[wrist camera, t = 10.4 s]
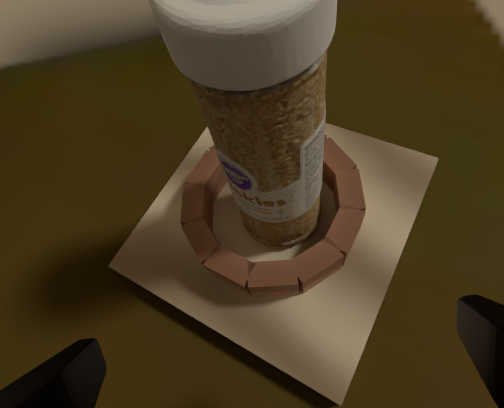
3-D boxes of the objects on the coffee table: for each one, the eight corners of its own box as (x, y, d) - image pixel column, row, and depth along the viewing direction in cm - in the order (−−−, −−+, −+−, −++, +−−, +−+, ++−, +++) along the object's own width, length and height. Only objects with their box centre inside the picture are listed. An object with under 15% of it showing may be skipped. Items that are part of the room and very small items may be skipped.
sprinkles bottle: (228, 232, 20) (103, 5, 8) (263, 168, 21) (201, -101, 9) (304, 263, 18) (289, 41, 6) (335, 192, 20) (369, -92, 8)
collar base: (339, 404, 16) (344, 408, 13) (116, 271, 21) (87, 254, 18) (433, 167, 21) (451, 136, 18) (233, 103, 25) (224, 70, 23)
